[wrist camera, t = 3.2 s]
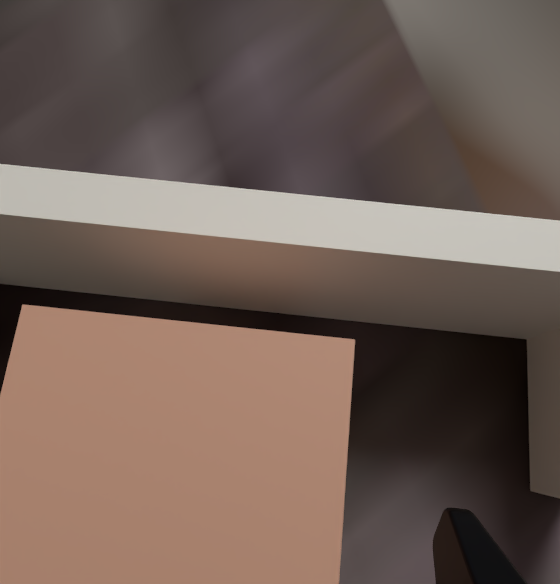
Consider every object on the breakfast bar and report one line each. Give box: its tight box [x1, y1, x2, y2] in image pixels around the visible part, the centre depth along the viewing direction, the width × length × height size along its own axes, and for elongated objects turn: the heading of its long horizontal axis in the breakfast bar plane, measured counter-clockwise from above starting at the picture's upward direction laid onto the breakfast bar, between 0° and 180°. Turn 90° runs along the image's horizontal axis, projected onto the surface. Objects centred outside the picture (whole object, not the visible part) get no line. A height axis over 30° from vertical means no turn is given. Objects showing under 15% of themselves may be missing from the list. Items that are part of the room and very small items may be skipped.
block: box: [0, 304, 355, 584], centre depth 12 cm, size 5×5×10 cm
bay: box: [0, 164, 560, 498], centre depth 14 cm, size 6×22×7 cm, turn 84°
